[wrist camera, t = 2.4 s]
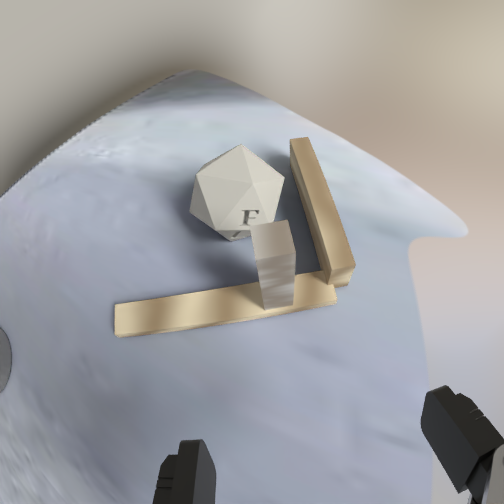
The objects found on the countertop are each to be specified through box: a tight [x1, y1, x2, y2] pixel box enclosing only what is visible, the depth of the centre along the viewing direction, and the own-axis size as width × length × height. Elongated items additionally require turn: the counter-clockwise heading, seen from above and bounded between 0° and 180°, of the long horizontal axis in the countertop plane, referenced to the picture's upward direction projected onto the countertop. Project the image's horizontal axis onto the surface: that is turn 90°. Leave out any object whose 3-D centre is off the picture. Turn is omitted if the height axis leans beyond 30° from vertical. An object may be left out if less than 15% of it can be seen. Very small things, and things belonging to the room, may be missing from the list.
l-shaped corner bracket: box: [115, 137, 356, 338], centre depth 27 cm, size 22×17×10 cm
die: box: [189, 144, 285, 242], centre depth 30 cm, size 8×9×10 cm
